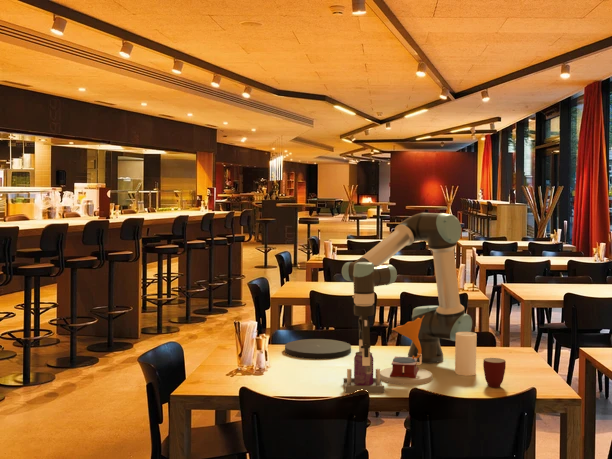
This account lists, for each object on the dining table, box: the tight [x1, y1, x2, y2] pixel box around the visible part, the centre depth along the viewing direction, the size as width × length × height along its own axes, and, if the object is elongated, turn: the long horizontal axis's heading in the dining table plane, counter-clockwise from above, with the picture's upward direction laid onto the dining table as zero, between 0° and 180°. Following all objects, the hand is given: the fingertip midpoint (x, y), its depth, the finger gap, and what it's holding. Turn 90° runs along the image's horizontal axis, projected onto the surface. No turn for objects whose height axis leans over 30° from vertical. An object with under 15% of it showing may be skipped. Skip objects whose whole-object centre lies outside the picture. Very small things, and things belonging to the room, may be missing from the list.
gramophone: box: [380, 316, 433, 386], centre depth 298 cm, size 20×20×25 cm
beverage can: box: [353, 351, 374, 386], centre depth 283 cm, size 7×7×12 cm
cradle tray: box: [343, 368, 385, 394], centre depth 283 cm, size 14×12×7 cm
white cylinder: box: [454, 331, 478, 377], centre depth 306 cm, size 8×8×16 cm
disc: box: [284, 338, 352, 360], centre depth 346 cm, size 30×30×3 cm
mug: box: [482, 357, 507, 389], centre depth 287 cm, size 10×8×10 cm
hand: (364, 361), depth 283 cm, fingers open, 13 cm apart
